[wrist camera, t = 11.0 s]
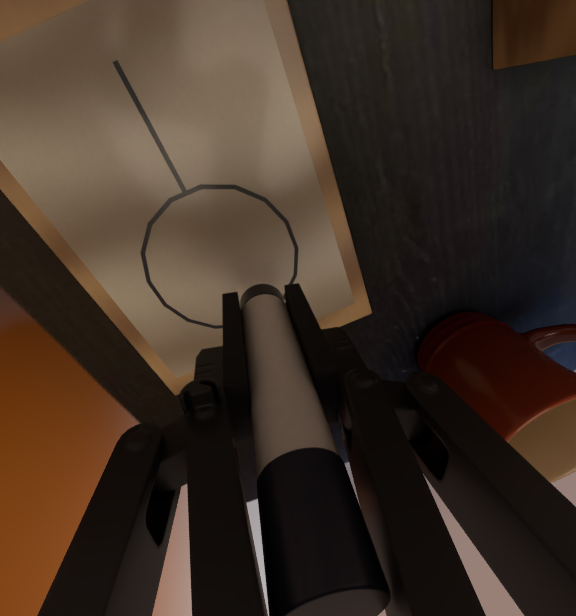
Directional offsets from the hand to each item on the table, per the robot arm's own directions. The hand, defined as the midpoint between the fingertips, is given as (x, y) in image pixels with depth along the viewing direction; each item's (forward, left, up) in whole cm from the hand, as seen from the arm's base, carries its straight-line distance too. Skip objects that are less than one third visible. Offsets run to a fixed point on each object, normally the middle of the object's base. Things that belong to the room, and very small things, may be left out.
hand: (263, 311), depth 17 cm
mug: (+8, +17, -5) cm, 20 cm away
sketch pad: (-4, -3, -5) cm, 7 cm away
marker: (0, 0, -1) cm, 1 cm away
